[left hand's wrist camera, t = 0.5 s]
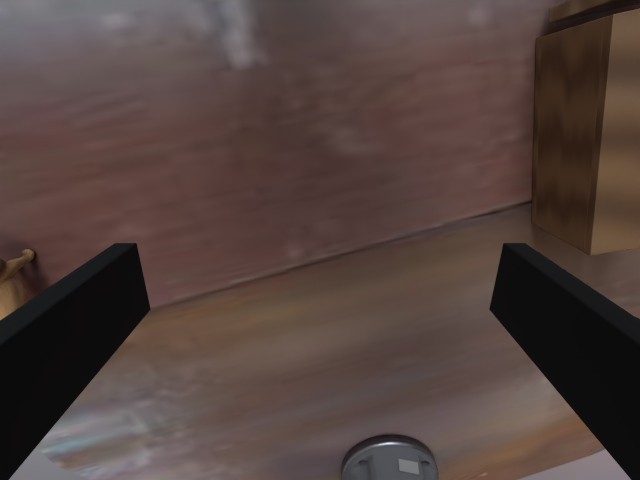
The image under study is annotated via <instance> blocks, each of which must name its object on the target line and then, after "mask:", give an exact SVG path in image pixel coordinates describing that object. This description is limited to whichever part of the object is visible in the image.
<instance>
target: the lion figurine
mask: <svg viewBox="0 0 640 480" xmlns="http://www.w3.org/2000/svg"><path fill="white" fill-rule="evenodd" d="M22 253H23V256H22V257H21V258H16V259H13V260H9V261H8V262H5V261H4V260H2V259H1V258H0V320H2V319H3V318H4V317H6V316H7V315H9V314H10V313H12V312H13V311H15V310H16V309H18V308H19V307H21V306H22V305H24V304H25V303H27V302H28V297H27V293H26V290H25V288H24V286H23V285H22V284H21V283H20V282H19V280H18V279H16V278H15V277H14V276H15V274H16V273H17V271H18V270H19V269H20V268H21V267H23V266H24V265H26V264H27V263H29V262H30V261H31V260H32V259H33V258H34V252H33V251H32V250H30V249H26V250H25V251H23V252H22Z"/></svg>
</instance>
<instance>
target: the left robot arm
mask: <svg viewBox="0 0 640 480" xmlns="http://www.w3.org/2000/svg"><path fill="white" fill-rule="evenodd" d="M149 311H150V305H149V300H148V295H147V291H146V286H145V281H144V277H143V272H142V267H141V263H140V258H139V253H138V248H137V244H136V243H115V244H113V245H112V246H110V247H109V248H107V249H106V250H104V251H103V252H101V253H100V254H98V255H97V256H95V257H94V258H92V259H91V260H89V261H88V262H86V263H85V264H83V265H82V266H81V267H79V268H78V269H76V270H75V271H73V272H72V273H70V274H69V275H67V276H66V277H64V278H63V279H61V280H60V281H58V282H57V283H55V284H54V285H52V286H51V287H49V288H48V289H46V290H45V291H43V292H42V293H40V294H39V295H37V296H36V297H34V298H33V299H31V300H30V301H28V302H27V303H25V304H24V305H22V306H21V307H19V308H18V309H16V310H15V311H13V312H12V313H10V314H9V315H7V316H6V317H4V318H3V319H2V320H0V480H9V479H10V477H11V476H12V475H13V474H14V473H15V471H16V470H17V469H18V468H19V467H20V465H21V464H22V463H23V462H24V461H25V459H26V458H27V457H28V456H29V455H30V453H31V452H32V451H33V450H34V449H35V447H36V446H37V445H38V444H39V443H40V441H41V440H42V439H43V438H44V437H45V435H46V434H47V433H48V432H49V431H50V429H51V428H52V427H53V426H54V425H55V423H56V422H57V421H58V420H59V419H60V417H61V416H62V415H63V414H64V413H65V411H66V410H67V409H68V408H69V407H70V405H71V404H72V403H73V402H74V401H75V399H76V398H77V397H78V396H79V395H80V393H81V392H82V391H83V390H84V389H85V387H86V386H87V385H88V384H89V383H90V381H91V380H92V379H93V378H94V377H95V375H96V374H97V373H98V372H99V371H100V369H101V368H102V367H103V366H104V365H105V363H106V362H107V361H108V360H109V359H110V357H111V356H112V355H113V354H114V353H115V351H116V350H117V349H118V348H119V347H120V345H121V344H122V343H123V342H124V341H125V339H126V338H127V337H128V336H129V335H130V333H131V332H132V331H133V330H134V329H135V327H136V326H137V325H138V324H139V323H140V321H141V320H142V319H143V318H144V317H145V315H146V314H147V313H148V312H149ZM490 311H491V312H492V313H493V314H494V315H495V317H496V318H497V319H498V320H499V321H500V323H501V324H502V325H503V326H504V327H505V329H506V330H507V331H508V332H509V333H510V335H511V336H512V337H513V338H514V339H515V341H516V342H517V343H518V344H519V345H520V347H521V348H522V349H523V350H524V351H525V353H526V354H527V355H528V356H529V357H530V359H531V360H532V361H533V362H534V363H535V365H536V366H537V367H538V368H539V369H540V371H541V372H542V373H543V374H544V375H545V377H546V378H547V379H548V380H549V381H550V383H551V384H552V385H553V386H554V387H555V389H556V390H557V391H558V392H559V393H560V395H561V396H562V397H563V398H564V399H565V401H566V402H567V403H568V404H569V405H570V407H571V408H572V409H573V410H574V411H575V413H576V414H577V415H578V416H579V417H580V419H581V420H582V421H583V422H584V423H585V425H586V426H587V427H588V428H589V429H590V431H591V432H592V433H593V434H594V435H595V437H596V438H597V439H598V440H599V441H600V443H601V444H602V445H603V446H604V447H605V449H606V450H607V451H608V452H609V453H610V455H611V456H612V457H613V458H614V459H615V461H616V462H617V463H618V464H619V465H620V467H621V468H622V469H623V470H624V471H625V473H626V474H627V475H628V476H629V477H630V479H631V480H640V319H639V318H637V317H634V316H633V315H631V314H630V313H628V312H627V311H625V310H624V309H622V308H621V307H619V306H618V305H616V304H615V303H613V302H612V301H610V300H609V299H607V298H606V297H604V296H603V295H601V294H600V293H598V292H597V291H595V290H594V289H592V288H591V287H589V286H588V285H586V284H585V283H583V282H582V281H580V280H579V279H577V278H576V277H574V276H573V275H571V274H570V273H568V272H567V271H565V270H564V269H562V268H561V267H559V266H558V265H557V264H555V263H554V262H552V261H551V260H549V259H548V258H546V257H545V256H543V255H542V254H540V253H539V252H537V251H536V250H534V249H533V248H531V247H530V246H528V245H527V244H525V243H504V244H503V248H502V253H501V258H500V263H499V267H498V272H497V277H496V281H495V286H494V291H493V295H492V300H491V305H490ZM342 480H438V469H437V466H436V463H435V460H434V457H433V454H432V453H431V451H430V450H429V449H428V448H427V447H426V446H425V445H424V444H423V443H421V442H419V441H417V440H415V439H413V438H410V437H406V436H400V435H383V436H377V437H373V438H370V439H367V440H365V441H363V442H361V443H359V444H357V445H356V446H355V447H353V448H352V449H351V450H350V451H349V452H348V453H347V455H346V456H345V458H344V460H343V463H342Z"/></svg>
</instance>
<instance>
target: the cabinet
mask: <svg viewBox="0 0 640 480" xmlns="http://www.w3.org/2000/svg"><path fill="white" fill-rule="evenodd" d="M532 224H534V225H536V226H537V227H539V228H541V229H543V230H545V231H546V232H548V233H550V234H552V235H554V236H556V237H557V238H559V239H561V240H563V241H565V242H566V243H568V244H570V245H572V246H574V247H575V248H577V249H579V250H581V251H583V252H585V253H586V254H588V255H590V256H592V255H598V254H604V253H610V252H615V251H621V250H627V249H633V248H638V247H640V8H639V9H635V10H630V11H626V12H621V13H617V14H613V15H610V16H606V17H603V18H600V19H597V20H594V21H591V22H587V23H584V24H581V25H578V26H575V27H571V28H568V29H565V30H562V31H559V32H555V33H552V34H549V35H546V36H543V37H540V38H537V39H536V67H535V106H534V145H533V184H532Z"/></svg>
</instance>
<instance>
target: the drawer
mask: <svg viewBox="0 0 640 480" xmlns="http://www.w3.org/2000/svg"><path fill="white" fill-rule="evenodd" d="M637 3H640V0H569V1H567V2H564V3H562V4H560V5H557V6H555V7H553V8H550V9H549V23H552V22H557V21H561V20H566V19H570V18H575V17H579V16H584V15H588V14H593V13H597V12H602V11H606V10H611V9H615V8H620V7H624V6H628V5H633V4H637Z"/></svg>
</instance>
